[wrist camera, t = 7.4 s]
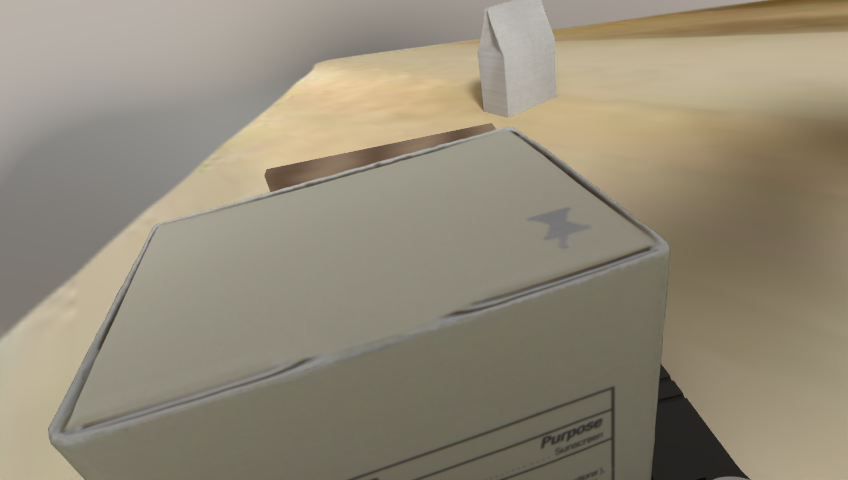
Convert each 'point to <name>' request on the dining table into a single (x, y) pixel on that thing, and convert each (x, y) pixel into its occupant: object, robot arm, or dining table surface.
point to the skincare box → (384, 331)
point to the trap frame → (361, 158)
